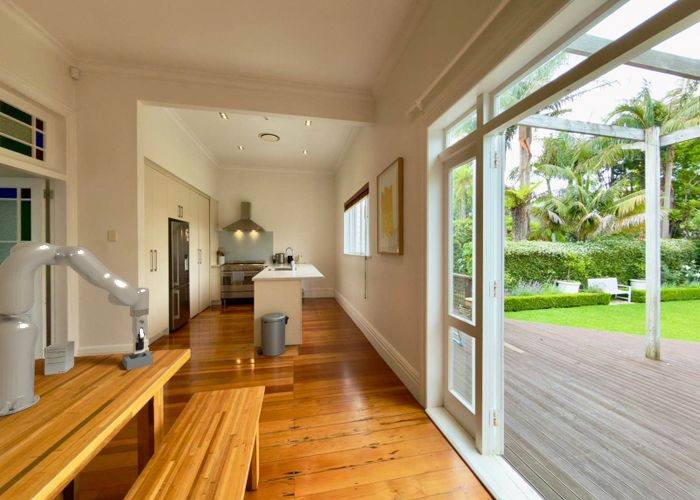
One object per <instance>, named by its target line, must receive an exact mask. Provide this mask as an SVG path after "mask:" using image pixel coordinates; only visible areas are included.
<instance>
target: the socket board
mask: <svg viewBox="0 0 700 500" xmlns="http://www.w3.org/2000/svg"><path fill="white" fill-rule="evenodd" d="M121 363H122V365H123V366H124V368H125V370H127V371H130V370H134V369H135V370H136V369H138V368H139V369H140V368H143V367H146V366H150V365H154V355H153V354H152V353H151V352H150V351H149V350H148V349H146V350H145V352H142V353H137V354H134V353H133V352H131V353H128V354H122V361H121Z"/></svg>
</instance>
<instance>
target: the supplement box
mask: <svg viewBox="0 0 700 500" xmlns="http://www.w3.org/2000/svg"><path fill="white" fill-rule="evenodd" d="M44 352H45V353H44V376H50V375H58V374H59V375H60V374H65V373H67V372H68V371H70V370H71V369H72V368H74V367H75V341H74V340H69V341H59V342H54V343H52V344H50V345H48V346H45V347H44Z"/></svg>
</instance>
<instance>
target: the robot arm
mask: <svg viewBox="0 0 700 500" xmlns="http://www.w3.org/2000/svg"><path fill="white" fill-rule="evenodd" d="M42 266H62V267H63V266H64V267H65V266H66V267H70V269H72V270H73V271H75V273H76V274H77V275H78V276H80V277H81V278H82V279H83V280H85V281H86V282H87V283H88V284H89V285H92V286H94V287H97V288H99V289H102V290H105V291H107V292H108V295H107V301H108V303H110V304H112V305H115V306H123V307H129V318H131V333H132V336H133V335H134V336H136V341H137V342H136V351H138V350H142V349H144V334H145V336H147V335H148V334H149V329H148V328H149V326H148V325H149V324H148V315H149V313H150V312H149V311H150V309H149V308H150V290H149V288H148V287H133V285H131V284H130V283H129V282H128V281H126V280H125V279H124V278H122V277H121V276H119V275H118V274H116V273H114V272H113V271H111V269H109V268H108V267H107V266H105V264H104V263H102V262H101V261H100V260H99V258H97V257H96V256H95V255H94V254H93V253H92V252H91V251H89V249H87V248H85V247H84V246H78V245H77V246H76V245H74V246H72V245H71V246H69V245H55V244H51V243H48V242H45V241H22V242H19V243H17V244H14V245H13V246H12V247H11V248H10V249H9V255H8V256H7V257H6V258H5V259H3V260H2V262H1V264H0V417H4V416H9V415H11V414H14V413H15V414H16V413H18V412H21V411H24V410H26V409H28V408H30V407H33V406H34V405H36V404H38V402H39V401H41V400H40V395H38V394H34V393H35V392H34V390H35V370H36V369H35V365H36V364H35V363H36V347H37V346H36V345H37V342H38V338H39V333H40V332H39V326H38V325H37V323H35V322H34V321H32V320H30V319H27V318H23V314H25V313H27V312H29V311H31V309H33V307H34V305H35V277H36V273H37V272H38V271H39V268H41V267H42ZM138 335H140V336H138ZM138 337H140V338H139V339H138Z"/></svg>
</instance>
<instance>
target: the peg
mask: <svg viewBox="0 0 700 500" xmlns="http://www.w3.org/2000/svg"><path fill="white" fill-rule="evenodd" d="M138 336H140V335H138ZM139 338H140V337H138V339H139ZM136 342H137V341H136V336H134V335H133V334H132V353H134V354H137V353H142V352H145V347H146V344H145V343H146V335H145V334H144V349H142V350H138V351H136Z"/></svg>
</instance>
